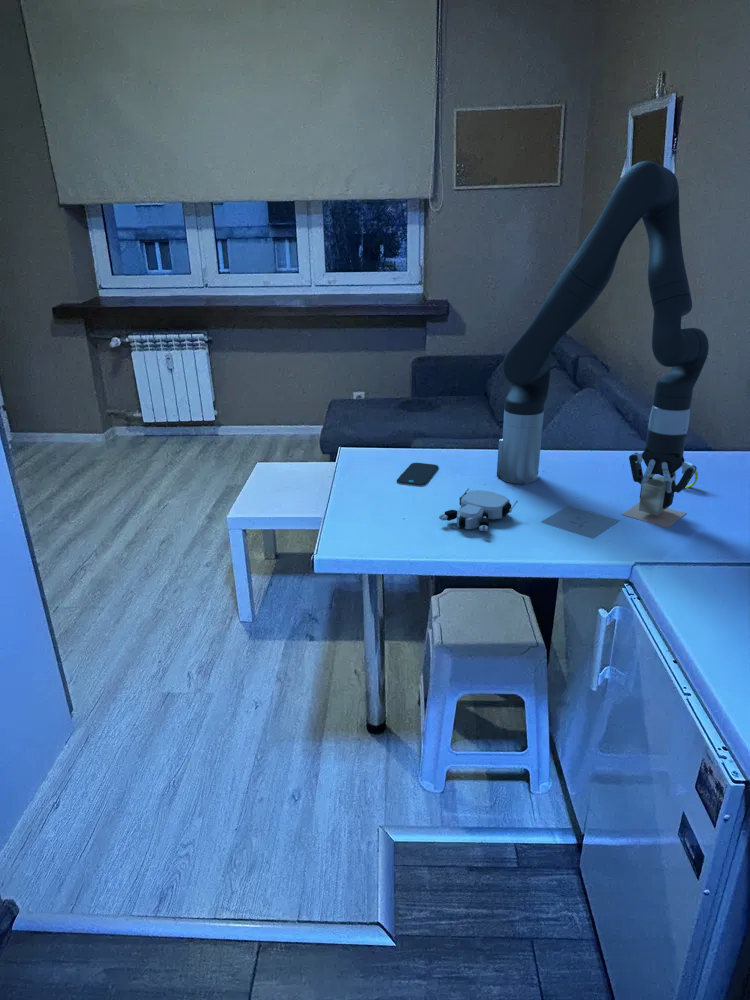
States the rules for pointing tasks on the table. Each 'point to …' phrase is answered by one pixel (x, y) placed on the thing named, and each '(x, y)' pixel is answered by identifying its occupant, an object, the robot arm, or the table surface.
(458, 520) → the robot toy
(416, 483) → the smartphone
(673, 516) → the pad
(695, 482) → the watch
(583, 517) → the board
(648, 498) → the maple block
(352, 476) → the table surface
